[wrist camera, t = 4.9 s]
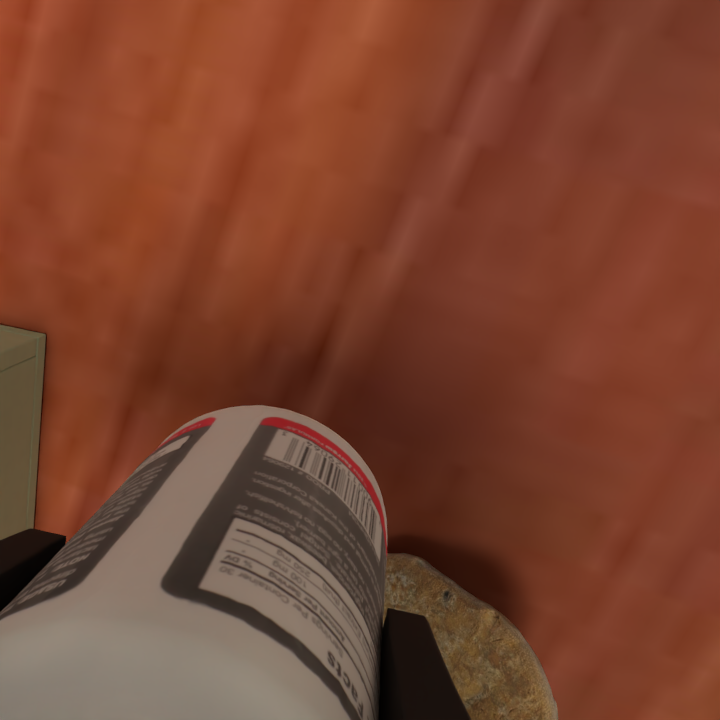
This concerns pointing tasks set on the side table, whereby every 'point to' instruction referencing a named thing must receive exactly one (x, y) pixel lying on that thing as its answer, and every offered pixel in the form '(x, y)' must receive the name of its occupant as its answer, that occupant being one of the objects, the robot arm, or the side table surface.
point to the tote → (19, 425)
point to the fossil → (472, 643)
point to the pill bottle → (212, 586)
